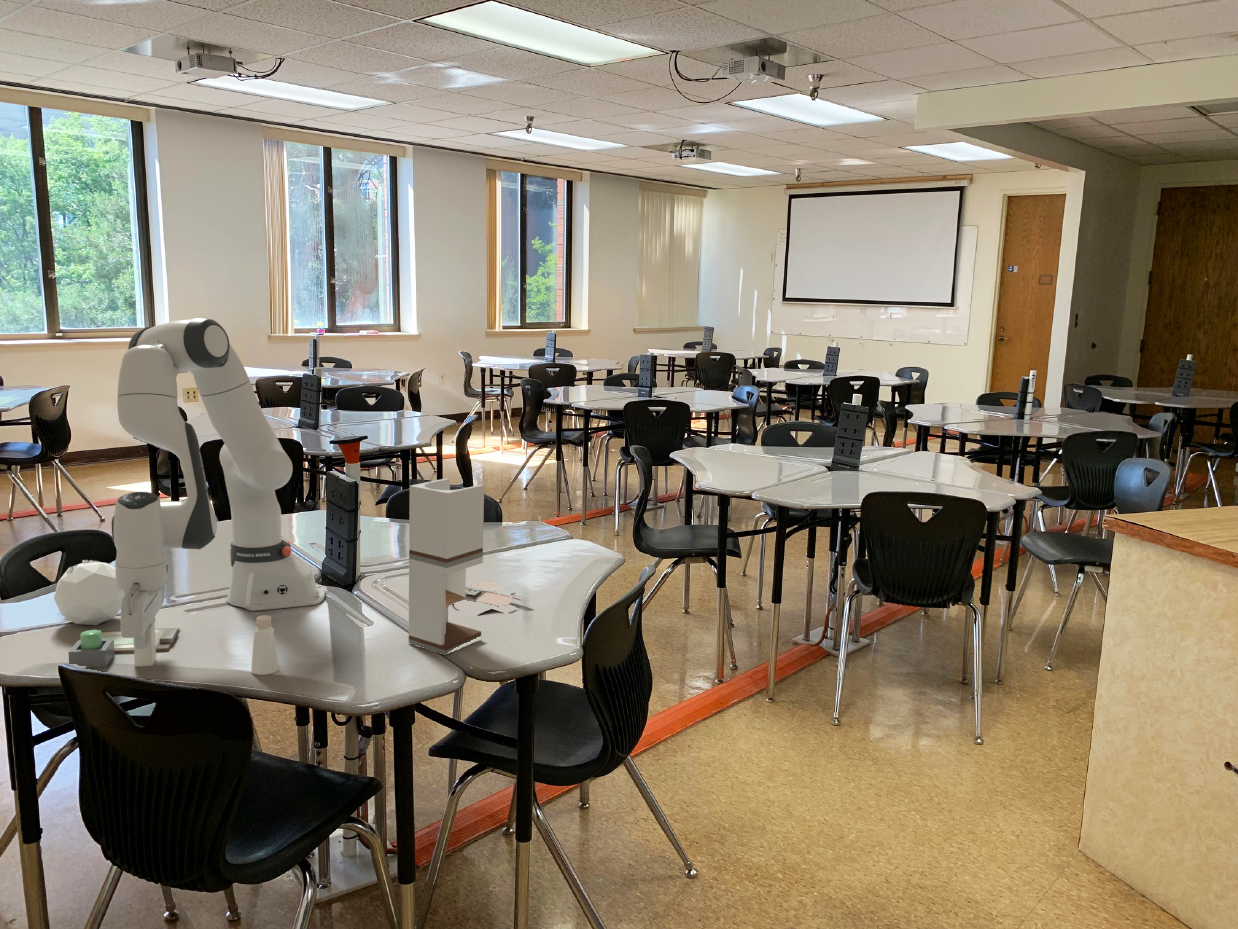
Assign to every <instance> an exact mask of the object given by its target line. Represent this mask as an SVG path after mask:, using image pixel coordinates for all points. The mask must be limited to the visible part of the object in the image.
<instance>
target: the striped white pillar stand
mask: <svg viewBox="0 0 1238 929" xmlns="http://www.w3.org/2000/svg"><path fill="white" fill-rule="evenodd" d="M450 488H451V478H441V479H435V480H433V481H426V482H422V483H418V484H417V483H416V484H412V485H409V510H408V511H409V518H408V520H409V521H408V523H409V525H408V526H409V530H408V531H409V532H408V534H409V536H408V537H409V538H408V539H409V540H408V542H409V545H408V557H409V558H408V559H409V560H408V564H409V565H408V567H409V568H408V644H409V643H411V644H412V645H411V646H413V645H417V646H420V647H424V648H427V649H429V650H433V651H436V652H438V653H442V654H445V655H446V654H447V653H448V652H449V651H451V650H453V649H454V648H456V647H459V646H460V645H462V644H464V643H467V642H470V641H471V640H473V639H476V638H477V637H480V636H481V637H482V631H480V630H477V629H474V628H470V627H466V626H462V625H460V624H456V623H453V622H451V621H450V622H449V607H450V606H452V604H454V603H456V602H459V601H462V600H464V599H465V589H466V586H467V585H466V584H467V583H466V582H467V580H466V575H467V574H466V573H467V568H471V567H473V566H477V565H481V564H483V562H484V557H483V556H484V510H485V509H484V507H485V485H484V484H478V485H474V486H470V487H464V488H460V489H458V488H457V489H450ZM429 650H428V651H429ZM438 653H437V654H438ZM446 656H447V655H446Z"/></svg>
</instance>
